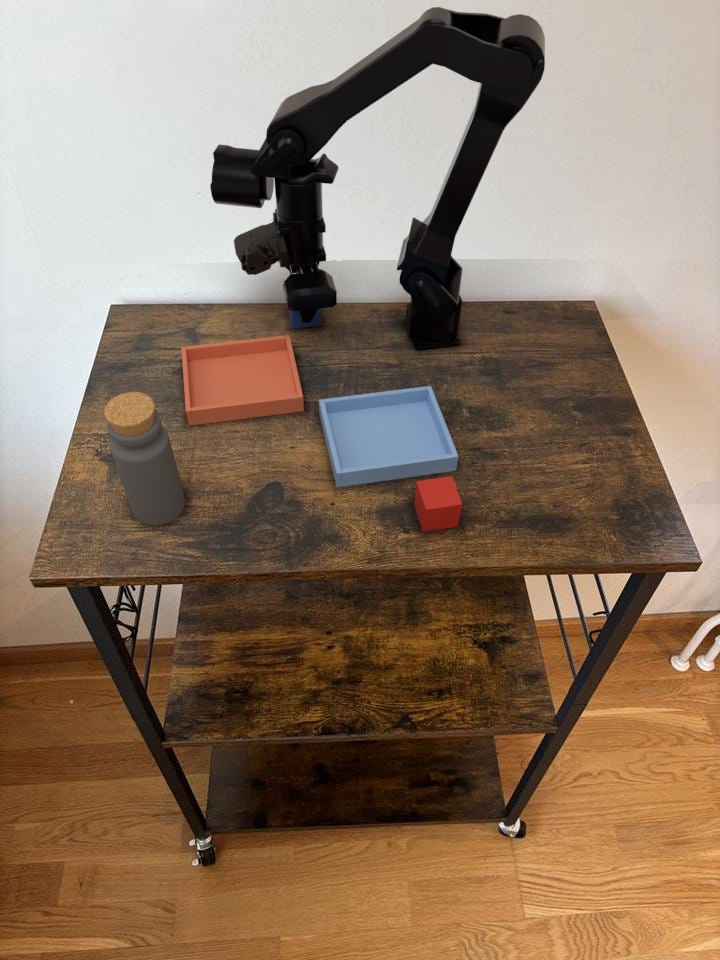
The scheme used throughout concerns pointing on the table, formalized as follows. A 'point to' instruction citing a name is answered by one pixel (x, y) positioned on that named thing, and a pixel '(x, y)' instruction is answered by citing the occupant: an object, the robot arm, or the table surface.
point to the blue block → (298, 322)
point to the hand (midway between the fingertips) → (304, 312)
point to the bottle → (144, 459)
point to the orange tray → (240, 380)
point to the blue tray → (386, 436)
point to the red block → (437, 503)
